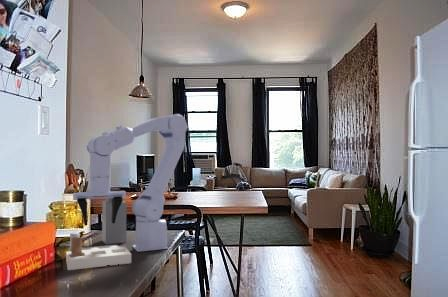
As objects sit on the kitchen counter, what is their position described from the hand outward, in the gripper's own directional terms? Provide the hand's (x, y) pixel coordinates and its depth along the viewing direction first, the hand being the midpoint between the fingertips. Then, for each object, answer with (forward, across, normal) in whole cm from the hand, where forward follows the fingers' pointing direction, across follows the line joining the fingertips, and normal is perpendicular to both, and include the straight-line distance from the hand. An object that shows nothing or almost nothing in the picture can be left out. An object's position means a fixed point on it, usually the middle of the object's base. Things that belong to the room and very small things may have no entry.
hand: (99, 223), depth 111 cm
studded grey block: (+9, -1, +4) cm, 10 cm away
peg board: (+9, -1, -6) cm, 11 cm away
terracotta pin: (+9, -7, -6) cm, 13 cm away
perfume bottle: (+10, +7, +19) cm, 22 cm away
